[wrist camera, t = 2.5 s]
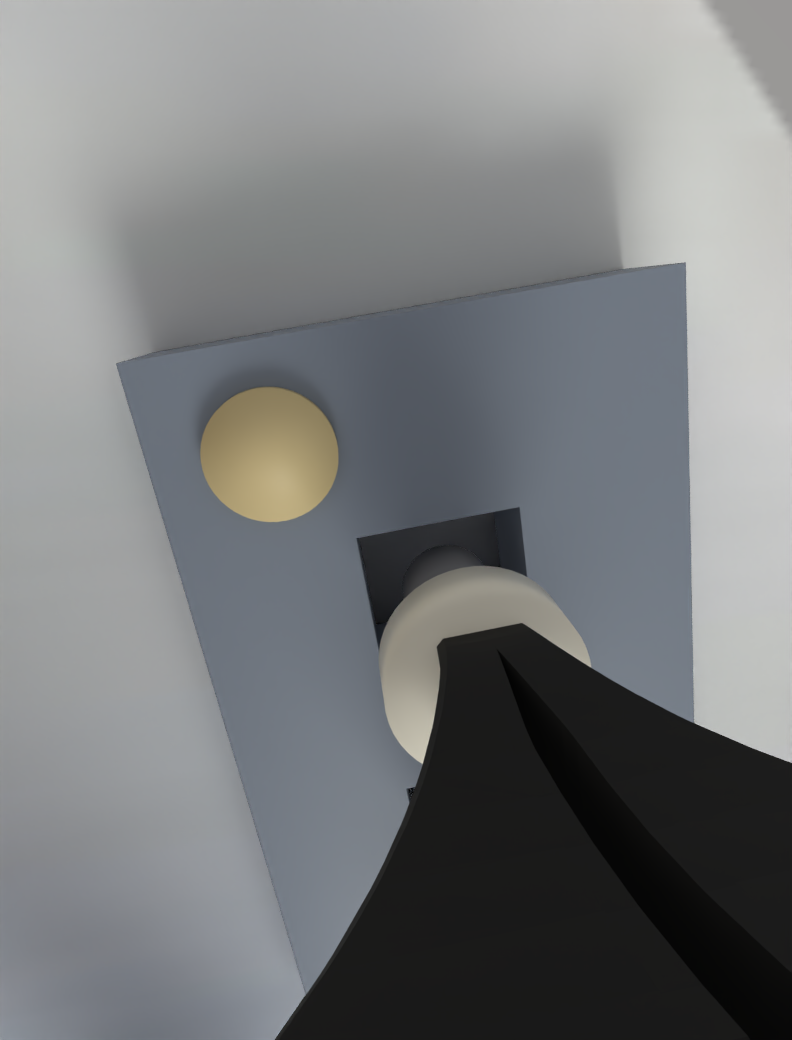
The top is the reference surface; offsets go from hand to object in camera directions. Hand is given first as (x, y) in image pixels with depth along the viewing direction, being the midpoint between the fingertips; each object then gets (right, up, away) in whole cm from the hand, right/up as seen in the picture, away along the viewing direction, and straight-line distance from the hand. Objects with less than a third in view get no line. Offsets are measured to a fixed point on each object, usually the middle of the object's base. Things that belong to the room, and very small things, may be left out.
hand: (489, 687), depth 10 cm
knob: (0, +1, +4) cm, 4 cm away
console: (0, -2, +7) cm, 7 cm away
